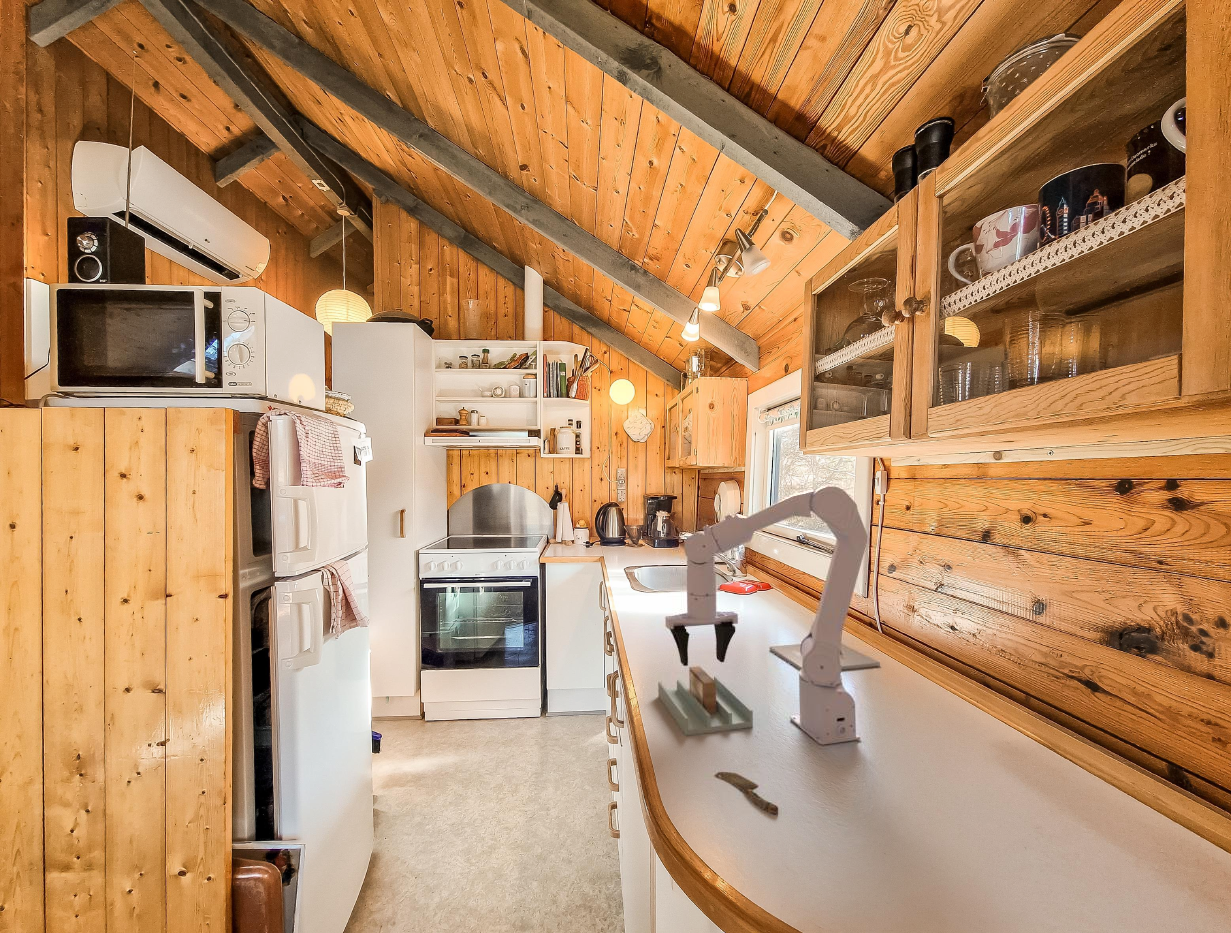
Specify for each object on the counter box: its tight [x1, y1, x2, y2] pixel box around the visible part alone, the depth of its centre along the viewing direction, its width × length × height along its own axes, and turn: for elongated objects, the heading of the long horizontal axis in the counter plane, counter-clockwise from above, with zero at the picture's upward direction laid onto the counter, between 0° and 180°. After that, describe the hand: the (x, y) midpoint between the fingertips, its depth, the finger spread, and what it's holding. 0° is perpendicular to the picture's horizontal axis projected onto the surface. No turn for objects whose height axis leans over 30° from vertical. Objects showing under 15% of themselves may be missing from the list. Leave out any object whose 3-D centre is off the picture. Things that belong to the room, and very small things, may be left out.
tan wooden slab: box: [688, 666, 716, 715], centre depth 95 cm, size 8×2×6 cm, turn 12°
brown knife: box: [714, 771, 779, 815], centre depth 70 cm, size 12×1×5 cm
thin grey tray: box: [769, 642, 881, 672], centre depth 122 cm, size 16×2×20 cm
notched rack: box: [657, 675, 754, 737], centre depth 95 cm, size 16×13×3 cm
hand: (702, 662), depth 95 cm, fingers open, 7 cm apart
